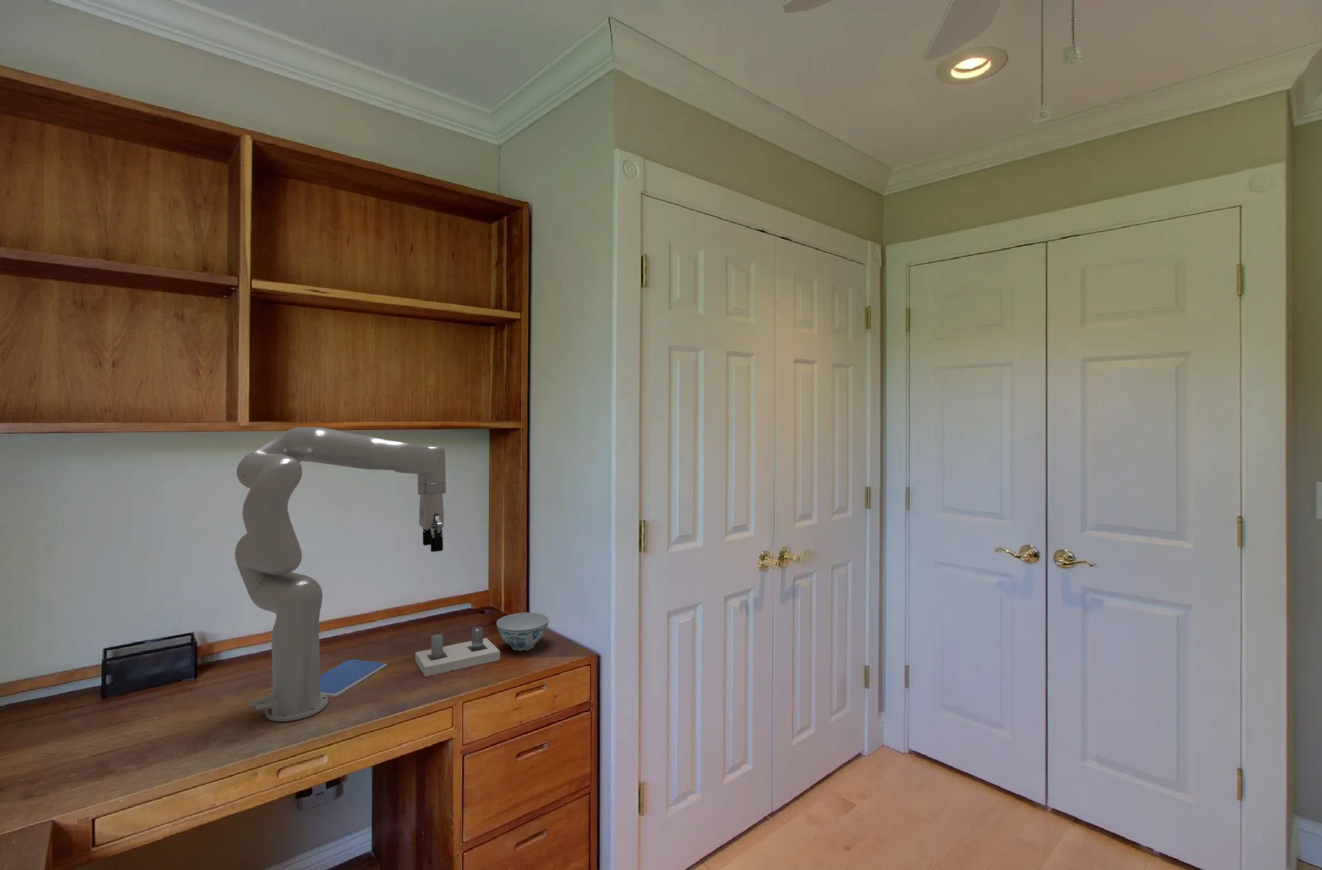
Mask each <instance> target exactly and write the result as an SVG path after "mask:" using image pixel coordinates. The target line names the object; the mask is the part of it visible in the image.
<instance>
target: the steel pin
mask: <svg viewBox="0 0 1322 870" xmlns="http://www.w3.org/2000/svg"><path fill="white" fill-rule="evenodd" d="M483 634H484V628H483V627H482V626H475V627H472V628H471V641H472V652H474V651H479V650H483V639H484V635H483Z"/></svg>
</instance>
